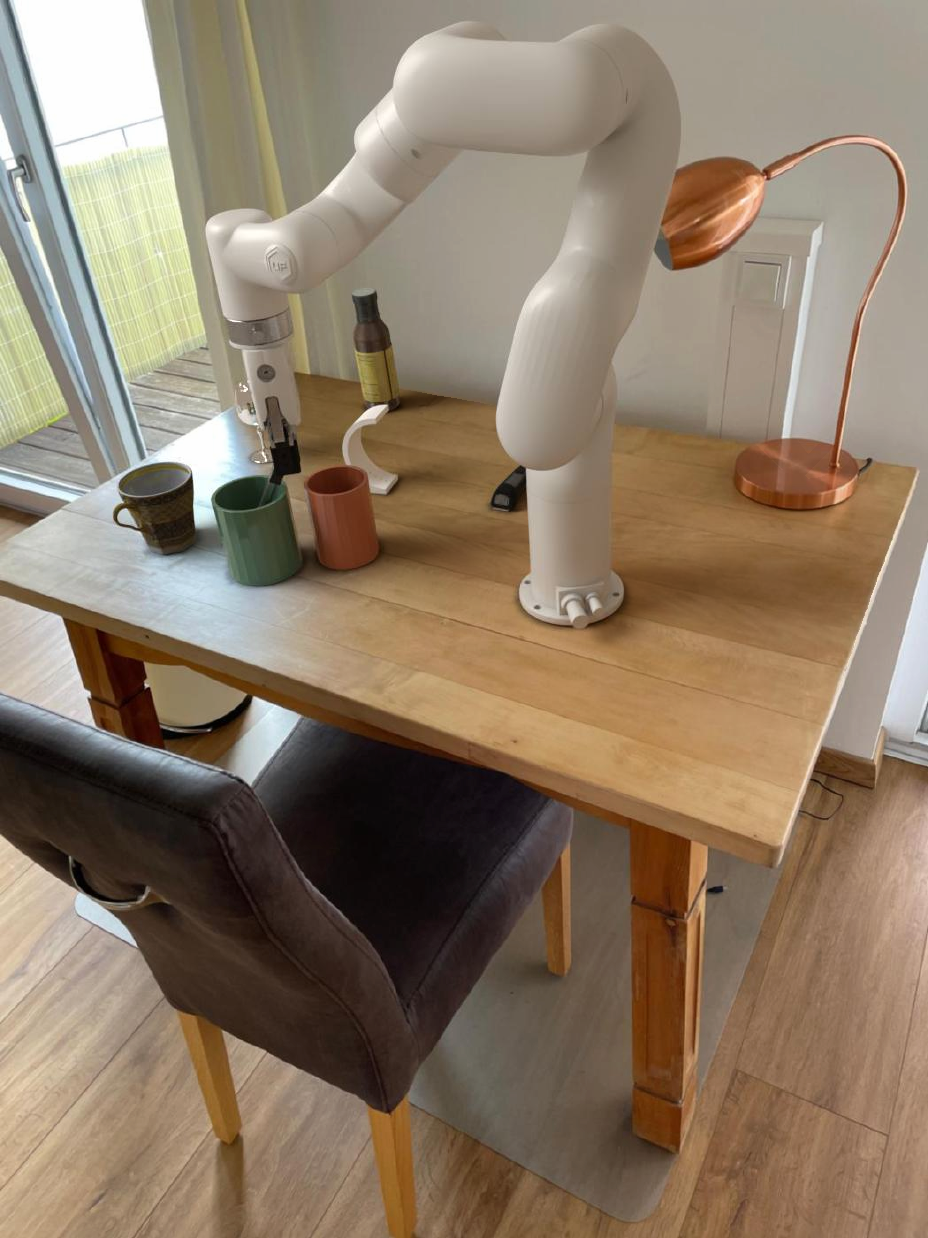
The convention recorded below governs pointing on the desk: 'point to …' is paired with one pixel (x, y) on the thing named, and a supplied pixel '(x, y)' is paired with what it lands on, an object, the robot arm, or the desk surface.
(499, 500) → the electric trimmer
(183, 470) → the ceramic cup
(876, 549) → the desk surface
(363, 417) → the headphone stand
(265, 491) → the tongs
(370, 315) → the sauce bottle
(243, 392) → the wineglass
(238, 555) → the green cup
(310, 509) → the terracotta cup
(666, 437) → the desk surface
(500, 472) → the desk surface
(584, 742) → the desk surface
